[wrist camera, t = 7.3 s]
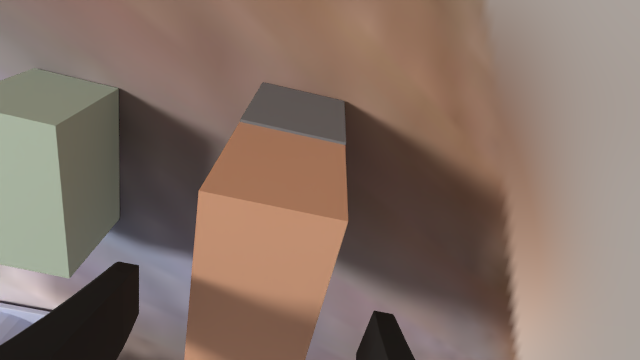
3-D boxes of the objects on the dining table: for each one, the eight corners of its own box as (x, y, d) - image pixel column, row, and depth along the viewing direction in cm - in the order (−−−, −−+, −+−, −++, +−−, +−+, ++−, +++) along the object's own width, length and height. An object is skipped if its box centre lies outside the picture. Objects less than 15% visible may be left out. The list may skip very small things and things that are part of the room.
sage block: (119, 218, 23) (69, 278, 19) (49, 203, 23) (-18, 261, 19) (118, 88, 20) (55, 125, 15) (34, 68, 19) (-55, 100, 15)
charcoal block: (310, 231, 23) (303, 294, 19) (242, 217, 23) (219, 278, 19) (344, 101, 19) (346, 142, 15) (262, 82, 19) (240, 119, 15)
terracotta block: (303, 296, 19) (292, 397, 15) (219, 279, 19) (182, 378, 14) (345, 145, 15) (348, 221, 11) (240, 121, 15) (198, 190, 10)
